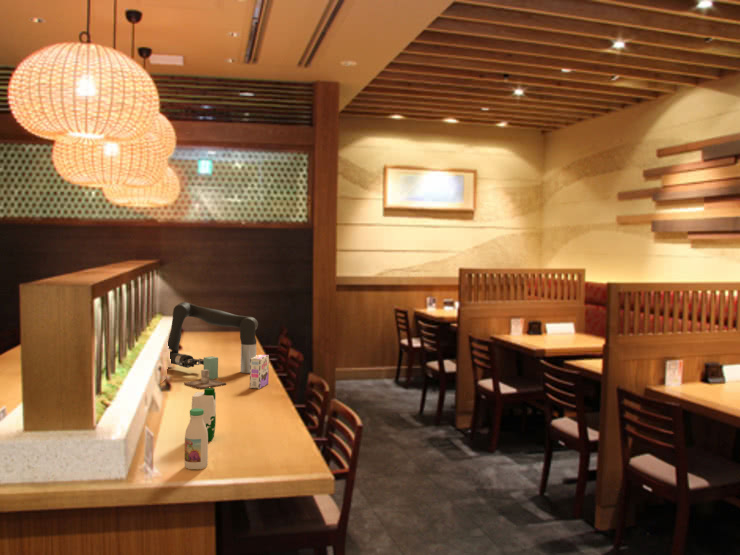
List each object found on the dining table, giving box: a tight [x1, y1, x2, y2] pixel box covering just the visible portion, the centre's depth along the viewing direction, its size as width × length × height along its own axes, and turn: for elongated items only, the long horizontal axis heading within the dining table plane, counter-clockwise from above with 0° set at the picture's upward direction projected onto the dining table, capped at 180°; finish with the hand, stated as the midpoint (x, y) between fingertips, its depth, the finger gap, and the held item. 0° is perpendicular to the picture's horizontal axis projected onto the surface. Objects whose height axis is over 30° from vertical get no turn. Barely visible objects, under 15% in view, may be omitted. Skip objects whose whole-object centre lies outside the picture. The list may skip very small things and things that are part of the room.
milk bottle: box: [184, 408, 209, 470], centre depth 218 cm, size 8×8×20 cm
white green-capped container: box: [191, 387, 217, 442], centre depth 249 cm, size 9×9×20 cm
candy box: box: [249, 354, 270, 390], centre depth 345 cm, size 14×6×16 cm, turn 168°
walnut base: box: [183, 369, 227, 390], centre depth 346 cm, size 16×16×8 cm
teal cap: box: [203, 356, 219, 380], centre depth 363 cm, size 6×6×12 cm
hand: (199, 364), depth 370 cm, fingers open, 8 cm apart
